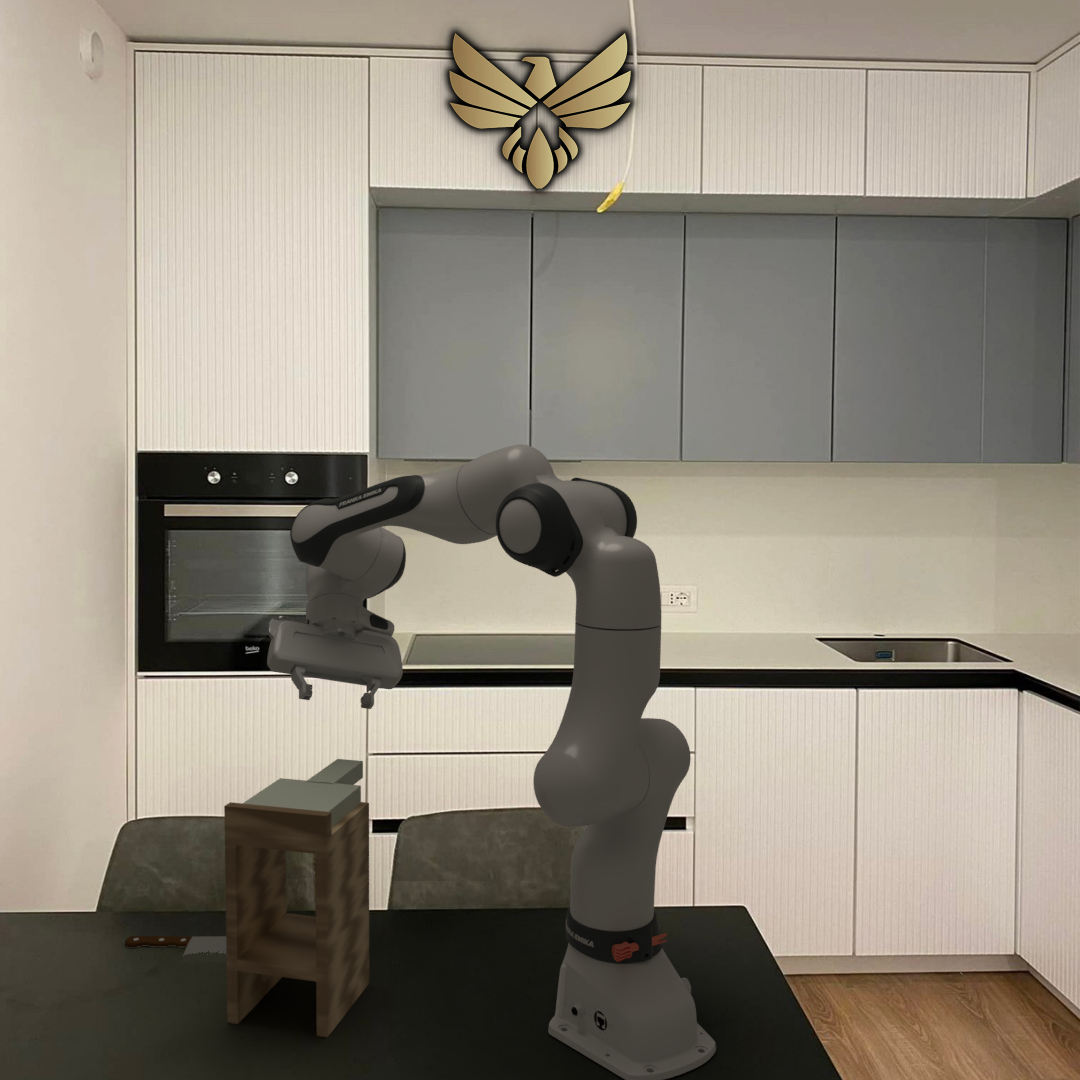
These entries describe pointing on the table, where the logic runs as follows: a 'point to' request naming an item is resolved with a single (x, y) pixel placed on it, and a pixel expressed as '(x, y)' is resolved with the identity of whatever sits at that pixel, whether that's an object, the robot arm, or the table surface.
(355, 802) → the grey paddle board
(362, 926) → the rack
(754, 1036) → the table surface
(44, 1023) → the table surface
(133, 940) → the kitchen cleaver
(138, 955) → the table surface
